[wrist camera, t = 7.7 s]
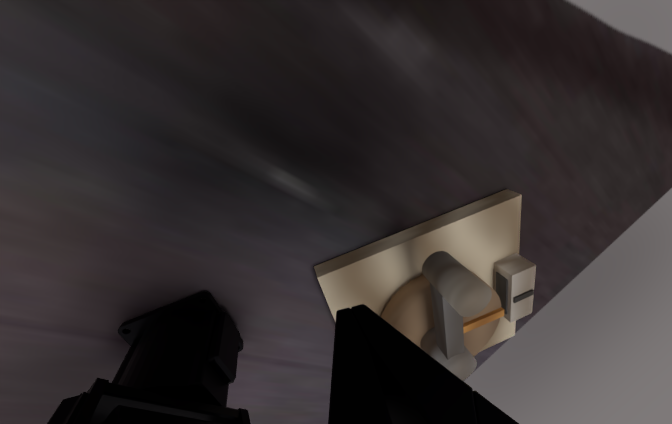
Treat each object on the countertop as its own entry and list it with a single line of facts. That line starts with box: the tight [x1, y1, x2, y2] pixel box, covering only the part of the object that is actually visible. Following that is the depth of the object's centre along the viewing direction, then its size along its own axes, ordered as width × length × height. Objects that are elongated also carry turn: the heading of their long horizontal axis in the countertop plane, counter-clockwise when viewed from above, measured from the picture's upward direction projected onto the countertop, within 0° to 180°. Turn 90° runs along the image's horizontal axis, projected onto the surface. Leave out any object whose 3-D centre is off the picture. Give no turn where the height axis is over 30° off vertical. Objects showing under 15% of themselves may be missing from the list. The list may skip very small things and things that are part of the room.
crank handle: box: [381, 251, 504, 381], centre depth 21 cm, size 11×16×7 cm
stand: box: [314, 189, 536, 351], centre depth 25 cm, size 18×18×4 cm
